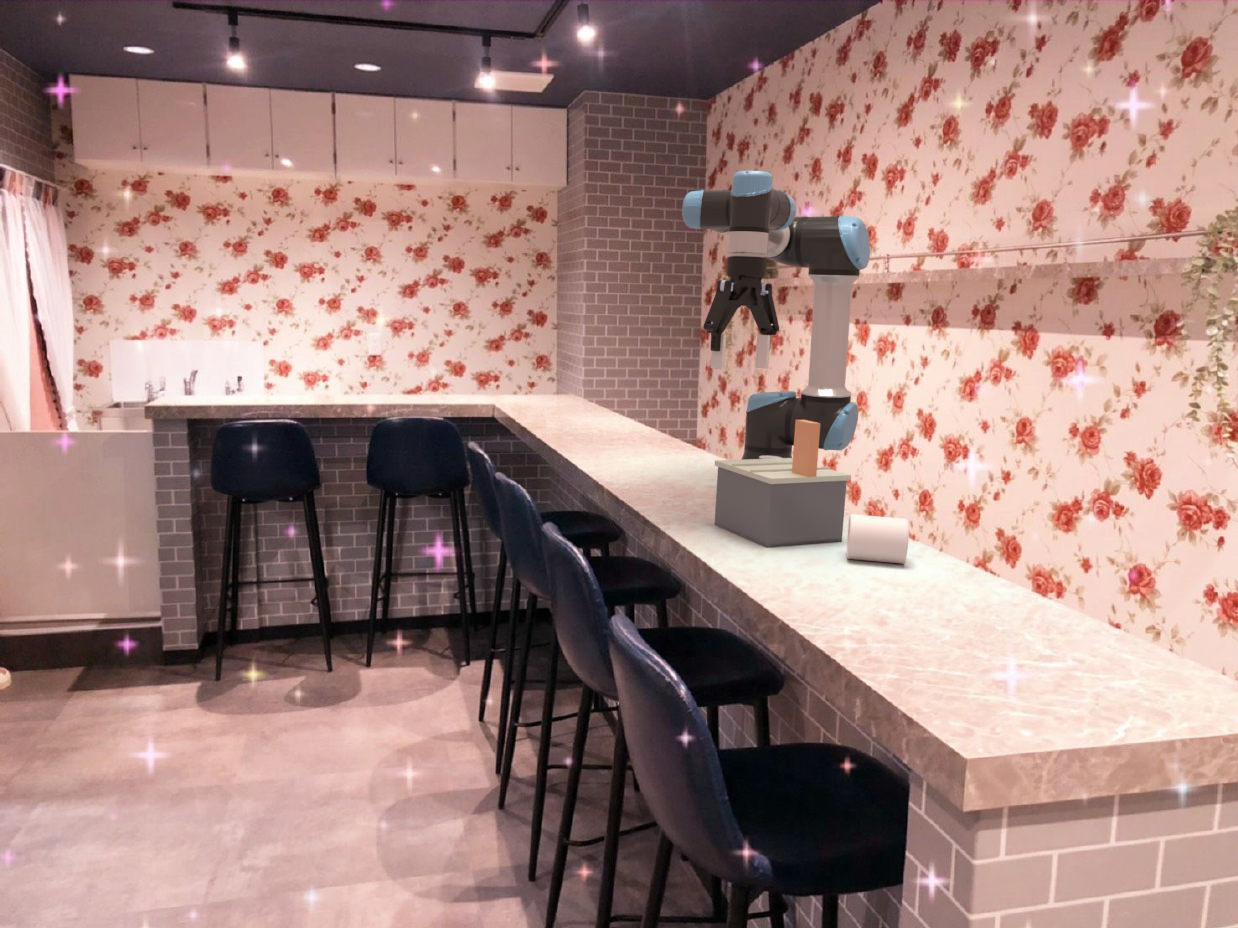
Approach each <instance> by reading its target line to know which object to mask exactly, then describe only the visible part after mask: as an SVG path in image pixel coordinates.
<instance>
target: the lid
mask: <svg viewBox="0 0 1238 928" xmlns="http://www.w3.org/2000/svg"><path fill="white" fill-rule="evenodd" d="M819 435H820V423H817V422H812V421H808V420H796V422H795V435H794V446H793V448H792V458H775V459H746V460H741V459H720V460H719V459H718V460H714V466H715V467H717V468H718V467H721V468H724V469H727V470H730V471H733V472H736V473H739V474H742V475H745V476H748V477H751V478H754V479H757V480H760V481H763V482H766V483H769V484H784V483H805V482H826V481H851V478H852V475H851V474H848V473H845V472H841V471H837V470H834V469H831V466H819V465H818V461H819V460H818V458H819Z"/></svg>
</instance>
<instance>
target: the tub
mask: <svg viewBox="0 0 1238 928" xmlns="http://www.w3.org/2000/svg"><path fill="white" fill-rule="evenodd" d="M846 493H847V481H826V482H805V483H784V484H769V483H766V482H763V481H760V480H757V479H754V478H751V477H748V476H745V475H742V474H739V473H736V472H733V471H730V470H727V469H724V468H721V467H718V466H717V480H716V495H715V496H716V497H715V511H714V512H715V513H714V526H717V527H719V528H721V529H724V530H725V531H729V532H730V533H733V534H735V535H738V536H740V537H742V538H744V539H747V540H749V541H751V542H753V543H755V544H758V545H760V546H762V547H765V548H777V547H791V546H800V545H802V546H803V545H814V544H825V543H827V544H828V543H839V542H842V541H843V531H844V517H845V505H846V497H847V496H846Z"/></svg>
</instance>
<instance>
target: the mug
mask: <svg viewBox="0 0 1238 928" xmlns="http://www.w3.org/2000/svg"><path fill="white" fill-rule="evenodd" d="M847 527H848V528H847V539H846V540H847V541H846V558H847V559H848V560H855V561H856V560H857V561H858V560H859V561H867V562H880V563H888V564H889V563H890V564H900V565H904V564H905V563H906V561H907V556H908V549H909V538H910V537H909V536H910V535H909V533H910V531H909V529H910V525H909V520H908V519H907V518H901V517H891V516H890V517H888V516H878V515H877V516H876V515H863V514H855V513H854V514H853V513H852V514H851V513H850V514H849V519H848V525H847Z"/></svg>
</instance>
